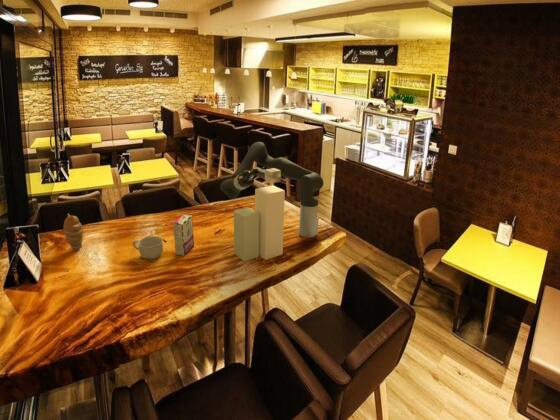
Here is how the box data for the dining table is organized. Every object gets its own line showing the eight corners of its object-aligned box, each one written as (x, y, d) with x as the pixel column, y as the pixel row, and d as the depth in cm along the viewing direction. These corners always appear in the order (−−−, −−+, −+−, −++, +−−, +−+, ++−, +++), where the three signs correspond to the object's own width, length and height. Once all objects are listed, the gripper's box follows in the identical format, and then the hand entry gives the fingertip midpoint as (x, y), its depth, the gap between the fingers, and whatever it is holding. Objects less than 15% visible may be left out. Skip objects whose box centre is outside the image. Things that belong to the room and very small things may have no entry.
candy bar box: (185, 245, 190) (183, 214, 184) (194, 246, 189) (192, 215, 184) (174, 255, 180) (172, 222, 174) (184, 256, 179) (182, 224, 173)
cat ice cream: (64, 249, 182) (57, 214, 175) (81, 244, 187) (75, 210, 181) (71, 256, 176) (65, 219, 170) (89, 250, 182) (83, 215, 175)
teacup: (168, 253, 181) (167, 238, 178) (154, 263, 172) (152, 247, 169) (143, 248, 185) (142, 233, 183) (128, 258, 176) (126, 242, 173)
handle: (259, 173, 182) (259, 162, 181) (280, 181, 170) (280, 170, 168) (250, 174, 180) (250, 164, 178) (271, 183, 167) (271, 172, 165)
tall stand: (271, 247, 191) (273, 185, 179) (282, 254, 184) (284, 190, 173) (254, 252, 185) (255, 188, 174) (265, 259, 178) (266, 194, 167)
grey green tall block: (248, 249, 187) (248, 207, 180) (258, 256, 181) (259, 213, 173) (234, 253, 183) (233, 210, 175) (244, 261, 176) (244, 216, 168)
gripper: (257, 185, 194) (275, 175, 180) (233, 189, 186) (250, 179, 172) (253, 171, 195) (270, 160, 180) (229, 175, 187) (245, 164, 172)
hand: (260, 170), depth 176 cm, fingers closed on handle, 3 cm apart
